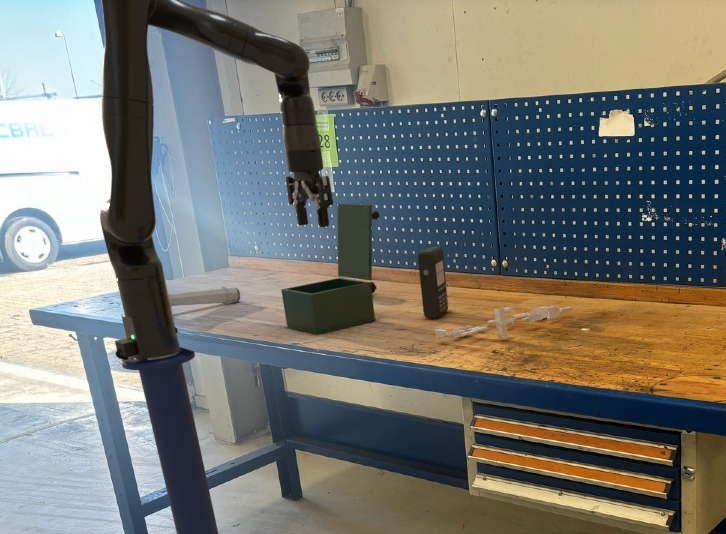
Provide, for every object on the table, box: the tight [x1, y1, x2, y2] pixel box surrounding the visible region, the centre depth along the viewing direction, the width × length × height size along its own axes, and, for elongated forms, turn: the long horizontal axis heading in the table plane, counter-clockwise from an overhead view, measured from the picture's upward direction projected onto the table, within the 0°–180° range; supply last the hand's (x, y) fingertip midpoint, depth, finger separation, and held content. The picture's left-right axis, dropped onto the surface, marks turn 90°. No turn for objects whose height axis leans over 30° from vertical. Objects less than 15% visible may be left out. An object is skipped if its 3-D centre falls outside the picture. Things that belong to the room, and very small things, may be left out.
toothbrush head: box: [168, 286, 241, 310], centre depth 219 cm, size 5×7×25 cm
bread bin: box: [280, 277, 376, 335], centre depth 194 cm, size 16×13×9 cm
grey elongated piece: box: [434, 305, 574, 341], centre depth 177 cm, size 6×35×12 cm
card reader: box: [417, 246, 449, 319], centre depth 194 cm, size 9×4×15 cm, turn 168°
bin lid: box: [337, 203, 380, 281], centre depth 196 cm, size 16×13×6 cm
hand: (313, 225), depth 186 cm, fingers open, 8 cm apart
